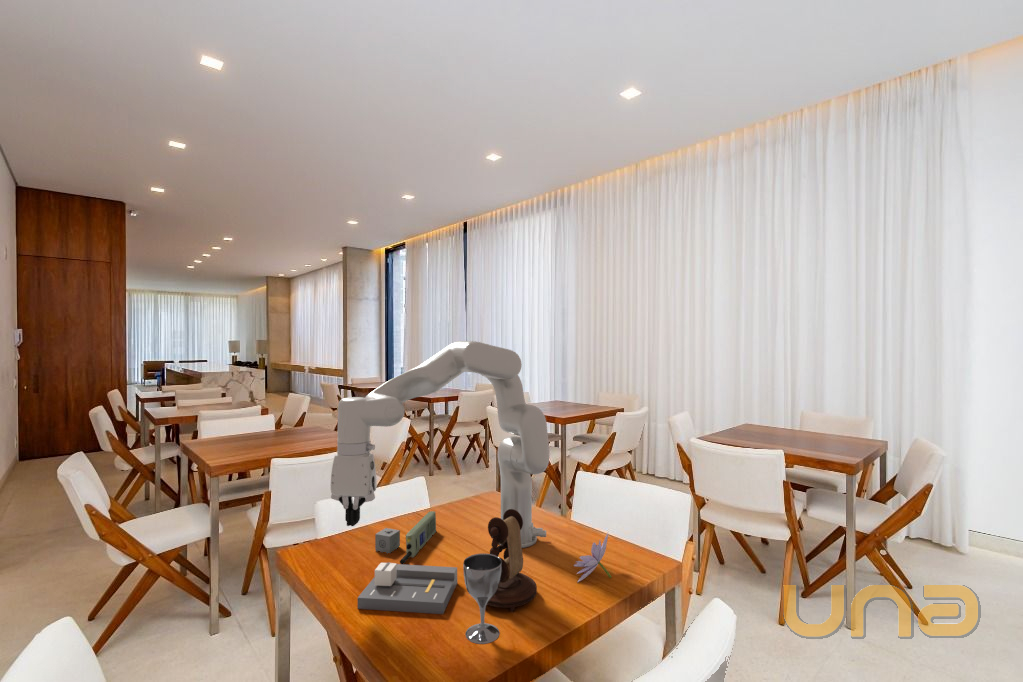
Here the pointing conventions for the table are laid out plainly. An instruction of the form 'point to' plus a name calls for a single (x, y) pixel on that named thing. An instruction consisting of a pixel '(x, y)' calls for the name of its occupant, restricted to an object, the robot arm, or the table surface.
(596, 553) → the water lily
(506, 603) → the scroll
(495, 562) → the wine glass
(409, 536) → the handheld radio
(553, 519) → the table surface
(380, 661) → the table surface
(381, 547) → the dice cube
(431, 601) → the console
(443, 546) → the table surface
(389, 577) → the fader knob
